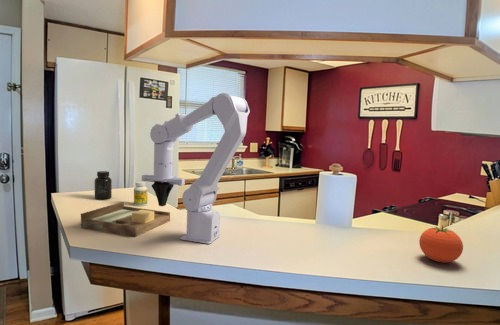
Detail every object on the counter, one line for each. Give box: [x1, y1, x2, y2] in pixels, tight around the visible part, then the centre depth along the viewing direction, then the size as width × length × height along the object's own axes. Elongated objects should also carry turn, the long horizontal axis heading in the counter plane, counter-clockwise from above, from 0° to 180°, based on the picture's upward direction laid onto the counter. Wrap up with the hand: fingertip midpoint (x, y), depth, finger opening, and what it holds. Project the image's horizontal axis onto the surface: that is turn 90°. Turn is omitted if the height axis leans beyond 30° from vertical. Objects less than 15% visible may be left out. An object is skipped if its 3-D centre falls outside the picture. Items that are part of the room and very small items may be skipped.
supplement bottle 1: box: [94, 170, 113, 201], centre depth 142 cm, size 7×7×12 cm
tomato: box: [418, 225, 464, 263], centre depth 87 cm, size 10×10×10 cm
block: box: [132, 210, 154, 223], centre depth 105 cm, size 5×5×3 cm
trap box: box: [80, 201, 171, 238], centre depth 107 cm, size 20×19×4 cm
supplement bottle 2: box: [133, 181, 148, 207], centre depth 134 cm, size 5×5×10 cm
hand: (162, 205), depth 103 cm, fingers closed
